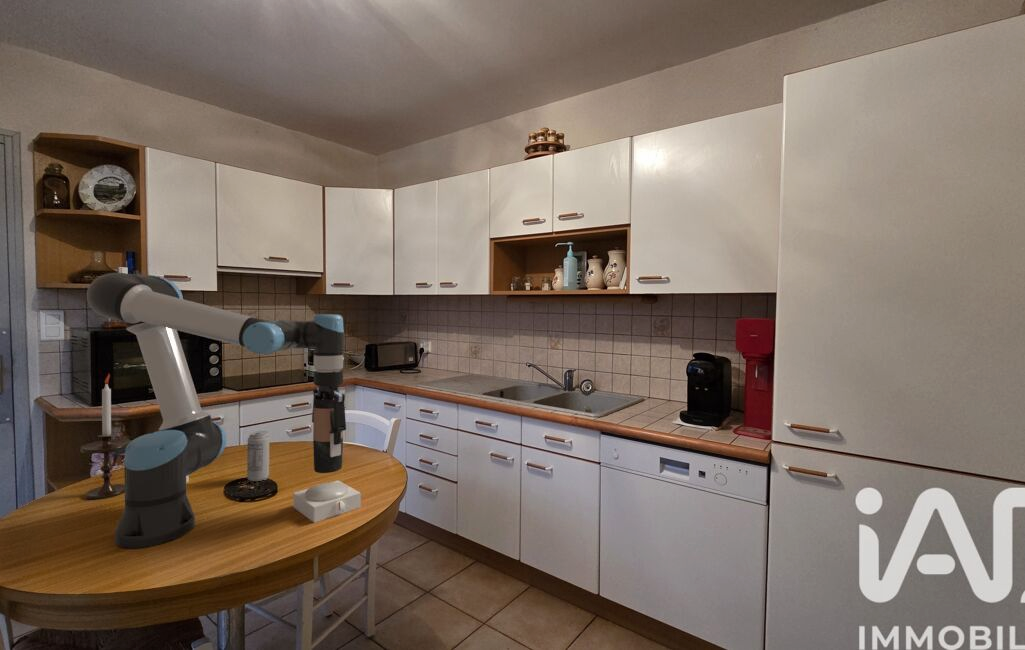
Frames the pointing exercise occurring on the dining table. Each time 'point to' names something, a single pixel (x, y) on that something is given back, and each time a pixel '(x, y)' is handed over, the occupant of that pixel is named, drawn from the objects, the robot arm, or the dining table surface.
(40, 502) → the dining table surface
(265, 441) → the energy drink can
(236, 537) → the dining table surface
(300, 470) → the dining table surface
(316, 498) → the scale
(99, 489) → the candlestick
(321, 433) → the travel mug
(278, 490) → the dining table surface
